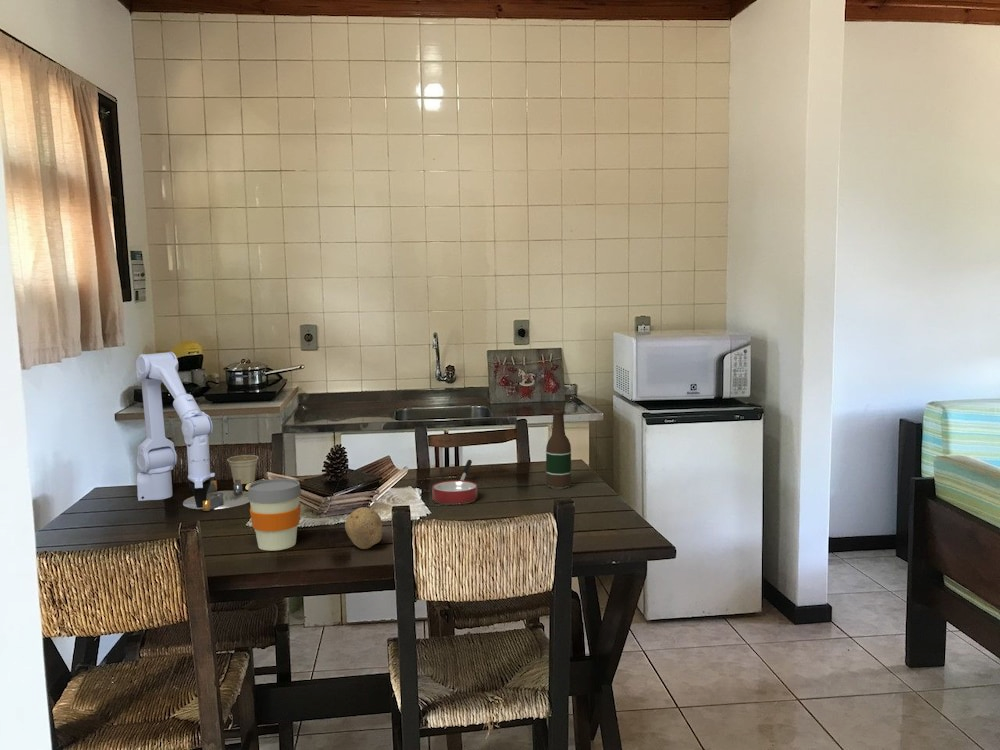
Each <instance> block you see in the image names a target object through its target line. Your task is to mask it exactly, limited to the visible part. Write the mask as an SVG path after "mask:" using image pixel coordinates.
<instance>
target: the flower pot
mask: <svg viewBox="0 0 1000 750" xmlns="http://www.w3.org/2000/svg"><path fill="white" fill-rule="evenodd" d="M258 460H259V456H258V455H254V454H253V455H252V454H243V455H236V456H235V455H233V456H230V457H229V458H227V459H226V461H227V462H228V465H229V467H230V470H231V471H230V472H231V476H232V480H233V481H232V483H234V480H237V479H241V484H242V485H245V484H246V485H247V484H251V483H250V482H252V483H254V482H256V469H257V464H258ZM253 481H254V482H253Z"/></svg>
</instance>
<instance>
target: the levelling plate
mask: <svg viewBox="0 0 1000 750" xmlns="http://www.w3.org/2000/svg"><path fill="white" fill-rule="evenodd" d="M219 492H222V493H223V500H224V504H222V505H219V506H217V507H215V508H213V509H212V510H222V509H229V508H233V507H239V506H242V505H246V504H248V503H249V504H250V500H249V499H248V491H246V490H242V492H243V494H242V495H234V490H219V491H218V490H217V491H214V492H212V493H210V494H208V495H207V497H206V499H207V498H209V497H211V496H213V495H214V494H215V493H219ZM182 505H183V506H184V507H185V508H188V509H192V510H193V509H195V510H203V507H201V508H197V506H196V502H195V498H194V495H193V496H190V497H188V498H186V499H184V501H182Z"/></svg>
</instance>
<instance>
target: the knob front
mask: <svg viewBox="0 0 1000 750" xmlns="http://www.w3.org/2000/svg"><path fill="white" fill-rule="evenodd" d="M202 502H203V509H202V511H203V512H208V511H211V510H214V509H213V508H215V507H217V506H219V505H222V504H224V500H223V493H222V492H219V493H215V494H214V495H213V496H211V497H209V498H207V499H204V500H202Z"/></svg>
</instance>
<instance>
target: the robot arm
mask: <svg viewBox="0 0 1000 750" xmlns="http://www.w3.org/2000/svg"><path fill="white" fill-rule="evenodd" d="M135 372H136V379H137V382H139V383H141V393H142V404H143V413H144V414H143V415H144V425H145V435H146V438H145V439H144V440H143V441H142V442H141V443H140V444H139V445H138V446H137V456H136V465H137V467H138V469H139V470H140V471H141V472H137V475H136V485H137V486H136V487H137V492H136V493H137V500H138V501H139V502H141V501H142V502H143V501H158V500H165V499H169V498H171V497H172V496H174V495H173V483H172V470H174V467H175V466H176V464H177V462H178V455H177V451H176V450H175V449H176V448H175V444H174V442H173V441H172V440H171V439H168V438H167V437H166V431H165V429H166V428H165V420H164V409H163V399H162V387H161V384H162V383H163V384H164V386H165V388H166V390H168V392H169V394H171V396H172V398H173V399H174V400H173V402H172V406H173V408H174V410H175V411H176V413H177V415H178V417H179V419H180V421H181V427H180V428H181V433H182V435H183V438H184V443H185V445H186V453H187V470H188V471H187V472H188V474H187V479H188V480H189V482H188V487H189V488H190V490H191V492H192V494H193V496H194V498H195V502H196V506H197V508H201V507H203V502H202V500H204V499H206V497H207V491H208V488H209V486H210V484H211V481H212V480H211V479H210V478H213V477H215V475H216V473H215V472H211V461H210V460H211V457H210V438H209V435H211V434H212V433H213V428H214V427H213V426H214V425H213V422H212V419H211V417H210V415H208V414H207V413H205V412H204V411H202V410H201V408H200V407H199V405H198V403H197V402H196V399H195V398H194V395H193V394H190V393H187V391H186V389H185V387H184V385H183V382H182V380H181V377H180V375H179V373H178V372H179V361H178V357H177V356H176V354H175V353H174V352H173V351H167V352H157V353H146V354H145V353H141V354H140V355H139V356H138V357H137V359H136V361H135ZM138 501H137V502H138Z"/></svg>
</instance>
